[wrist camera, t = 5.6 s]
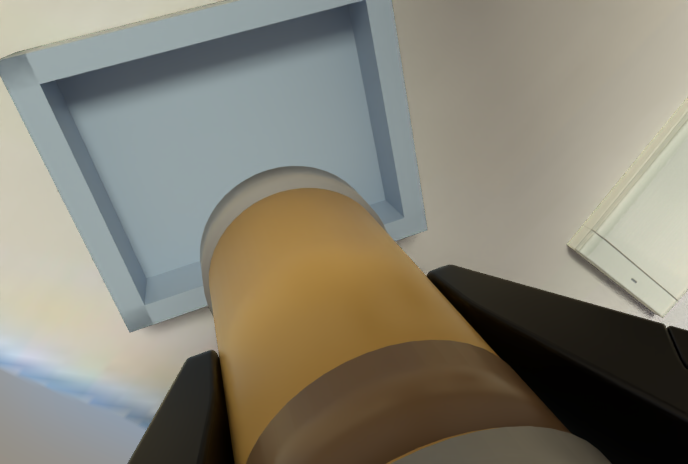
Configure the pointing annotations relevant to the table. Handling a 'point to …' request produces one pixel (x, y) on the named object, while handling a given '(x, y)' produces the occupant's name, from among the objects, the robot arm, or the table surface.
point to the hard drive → (646, 222)
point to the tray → (213, 128)
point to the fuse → (354, 342)
